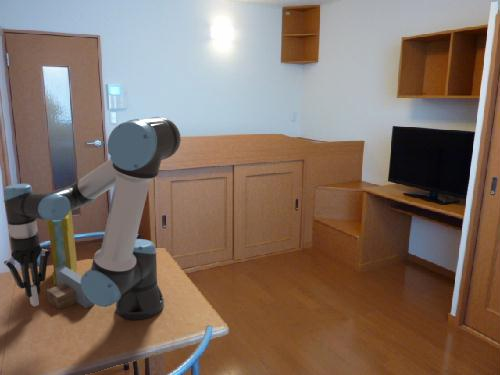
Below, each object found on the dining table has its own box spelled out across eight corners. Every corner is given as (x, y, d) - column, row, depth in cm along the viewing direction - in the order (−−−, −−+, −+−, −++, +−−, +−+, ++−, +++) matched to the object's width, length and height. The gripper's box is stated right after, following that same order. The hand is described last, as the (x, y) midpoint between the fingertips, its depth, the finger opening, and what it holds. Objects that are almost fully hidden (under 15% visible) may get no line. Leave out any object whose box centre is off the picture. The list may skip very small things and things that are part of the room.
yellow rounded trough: (74, 282, 149) (67, 218, 143) (54, 284, 147) (46, 219, 141) (79, 263, 165) (73, 205, 159) (61, 265, 163) (54, 206, 157)
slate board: (94, 304, 134) (92, 282, 132) (85, 308, 132) (83, 286, 130) (65, 285, 147) (63, 265, 145) (57, 288, 144) (55, 268, 142)
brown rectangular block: (76, 302, 136) (75, 290, 135) (59, 309, 131) (57, 297, 130) (65, 294, 141) (64, 283, 140) (47, 301, 136) (46, 289, 135)
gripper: (41, 226, 130) (50, 292, 136) (-4, 237, 120) (8, 308, 126) (51, 231, 125) (60, 300, 131) (5, 243, 116) (17, 317, 121)
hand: (34, 304), depth 128 cm, fingers closed
